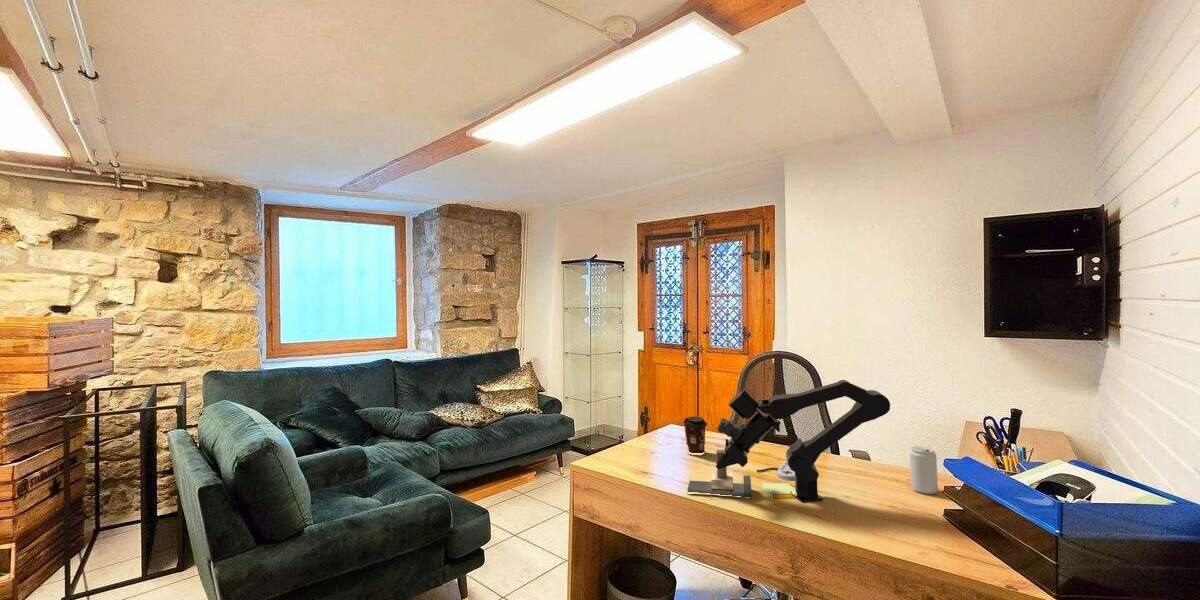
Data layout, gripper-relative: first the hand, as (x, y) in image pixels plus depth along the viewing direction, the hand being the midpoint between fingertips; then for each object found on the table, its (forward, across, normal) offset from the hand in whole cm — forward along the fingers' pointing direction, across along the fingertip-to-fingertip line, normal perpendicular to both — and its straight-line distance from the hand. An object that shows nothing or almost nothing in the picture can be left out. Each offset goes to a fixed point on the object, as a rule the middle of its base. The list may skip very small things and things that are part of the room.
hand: (717, 466), depth 147 cm
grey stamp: (+3, 0, +5) cm, 6 cm away
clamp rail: (+5, 0, +6) cm, 8 cm away
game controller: (-8, -21, +19) cm, 30 cm away
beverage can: (-35, -10, +46) cm, 58 cm away
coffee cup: (+12, -35, -1) cm, 37 cm away
